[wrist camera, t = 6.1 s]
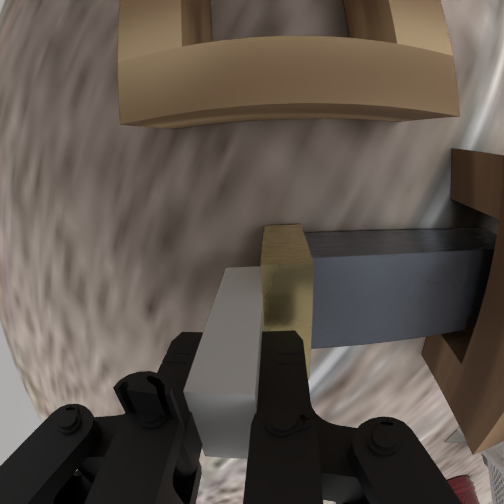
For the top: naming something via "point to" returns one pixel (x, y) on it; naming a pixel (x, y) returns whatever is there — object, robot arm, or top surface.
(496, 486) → the skyscraper
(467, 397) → the socket block
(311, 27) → the top surface
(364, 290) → the bar
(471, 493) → the canister
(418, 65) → the wooden square frame
